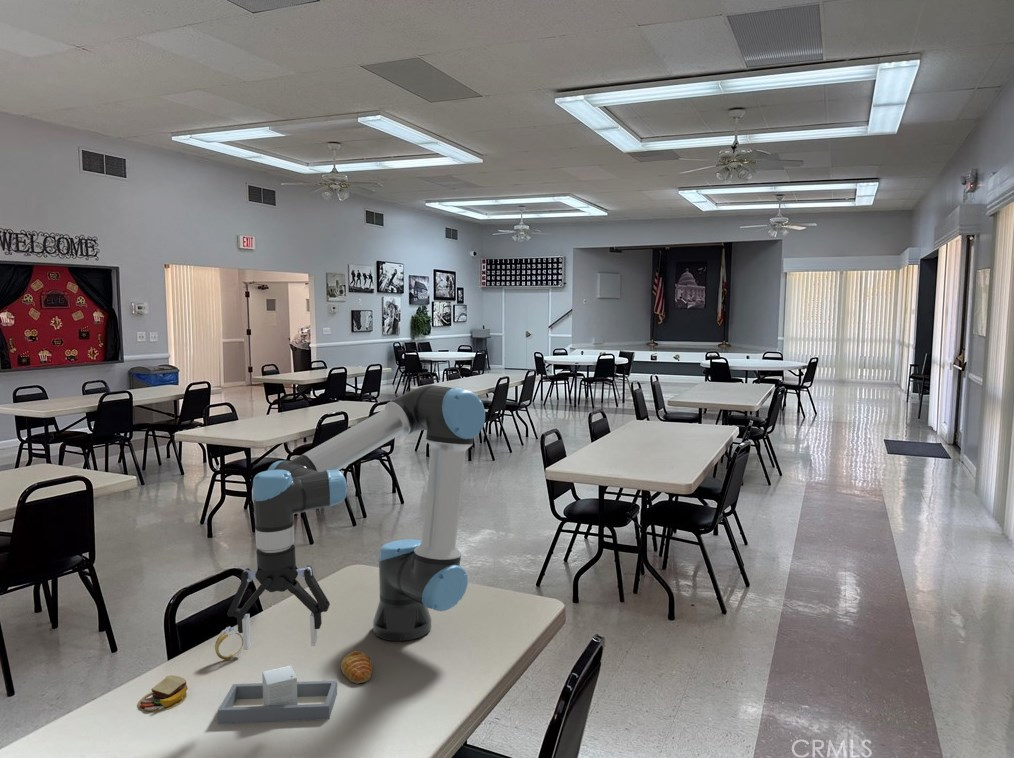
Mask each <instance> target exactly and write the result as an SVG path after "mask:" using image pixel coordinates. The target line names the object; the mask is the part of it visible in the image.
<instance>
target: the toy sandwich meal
mask: <svg viewBox="0 0 1014 758" xmlns="http://www.w3.org/2000/svg"><path fill="white" fill-rule="evenodd" d="M187 691H188V685H187V680H186V678H184V677H182V676H180V675H179V676H178V675H174V674H173V675H171V674H170V675H166V676H165V678H164V679H162V680H160V682H159V683H157V684H156V685H155V686H153V687H152V688H151V692H149V693H147V694H145V695H144V696H143V697H142V698H141V699H140V700H139V701H138V703H137V708H138V709H139V710H140V711H141V710H142V712H144V711H145V713H160V712H166V711H168V710H172V709H174V708H176V707H178V706H179V705H181V704H183V703H184V702H185V701H186V699H187V696H188V695H187ZM161 706H163V707H165V708H163V709H160V708H161Z"/></svg>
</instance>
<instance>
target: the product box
mask: <svg viewBox="0 0 1014 758" xmlns="http://www.w3.org/2000/svg"><path fill="white" fill-rule="evenodd" d="M261 673H262V677H261V678H262V683H263V704H264V706H276V705H298V701H297V682H298V681H297V679H298V678H297V675H296V673H295V671H294V669H293V667H292V665H286V666H283V667H278V668H273V669H269V670H264V671H262V672H261Z"/></svg>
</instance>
